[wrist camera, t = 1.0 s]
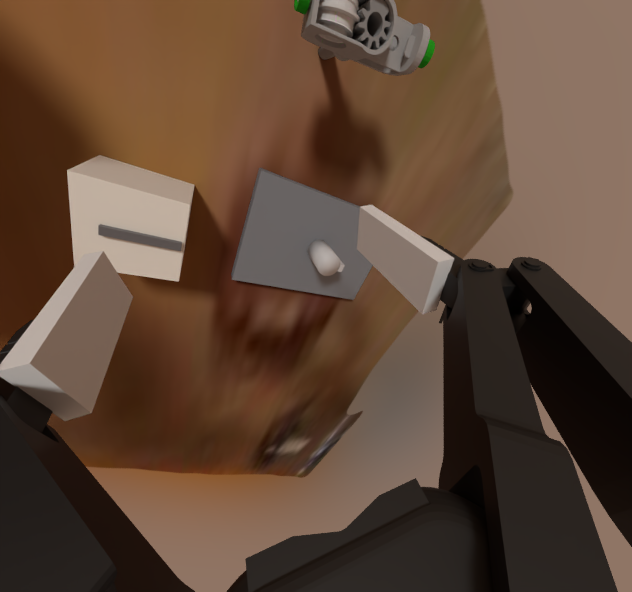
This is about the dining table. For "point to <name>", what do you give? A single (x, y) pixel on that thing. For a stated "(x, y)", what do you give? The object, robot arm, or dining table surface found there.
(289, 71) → the dining table surface
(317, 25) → the mechanical component
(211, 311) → the dining table surface
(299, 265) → the board
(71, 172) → the cream slotted box
